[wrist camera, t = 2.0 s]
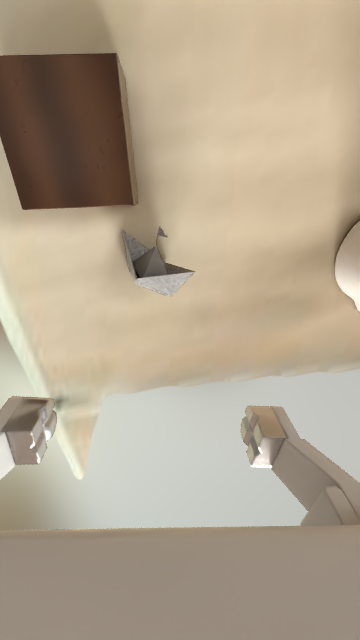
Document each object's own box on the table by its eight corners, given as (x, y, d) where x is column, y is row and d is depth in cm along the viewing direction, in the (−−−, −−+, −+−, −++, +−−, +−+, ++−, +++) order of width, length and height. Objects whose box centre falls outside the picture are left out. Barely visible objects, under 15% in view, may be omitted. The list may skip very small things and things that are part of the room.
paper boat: (100, 277, 34) (101, 211, 28) (131, 263, 39) (138, 203, 33) (169, 321, 31) (187, 257, 25) (194, 300, 35) (215, 241, 29)
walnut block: (125, 76, 26) (116, 52, 21) (138, 203, 31) (133, 205, 27) (8, 79, 25) (-25, 55, 21) (43, 207, 31) (22, 209, 26)
